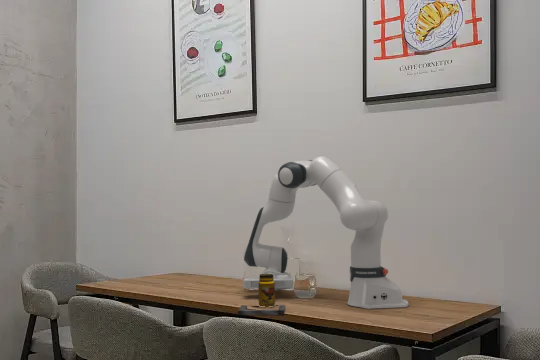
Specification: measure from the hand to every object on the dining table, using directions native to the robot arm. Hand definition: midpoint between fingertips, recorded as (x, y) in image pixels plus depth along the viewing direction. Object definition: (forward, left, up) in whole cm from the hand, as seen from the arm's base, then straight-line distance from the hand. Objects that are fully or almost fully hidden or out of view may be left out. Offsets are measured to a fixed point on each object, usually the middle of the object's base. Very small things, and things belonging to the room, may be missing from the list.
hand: (266, 285), depth 243 cm
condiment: (0, +9, -6) cm, 11 cm away
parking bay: (0, +20, -6) cm, 21 cm away
